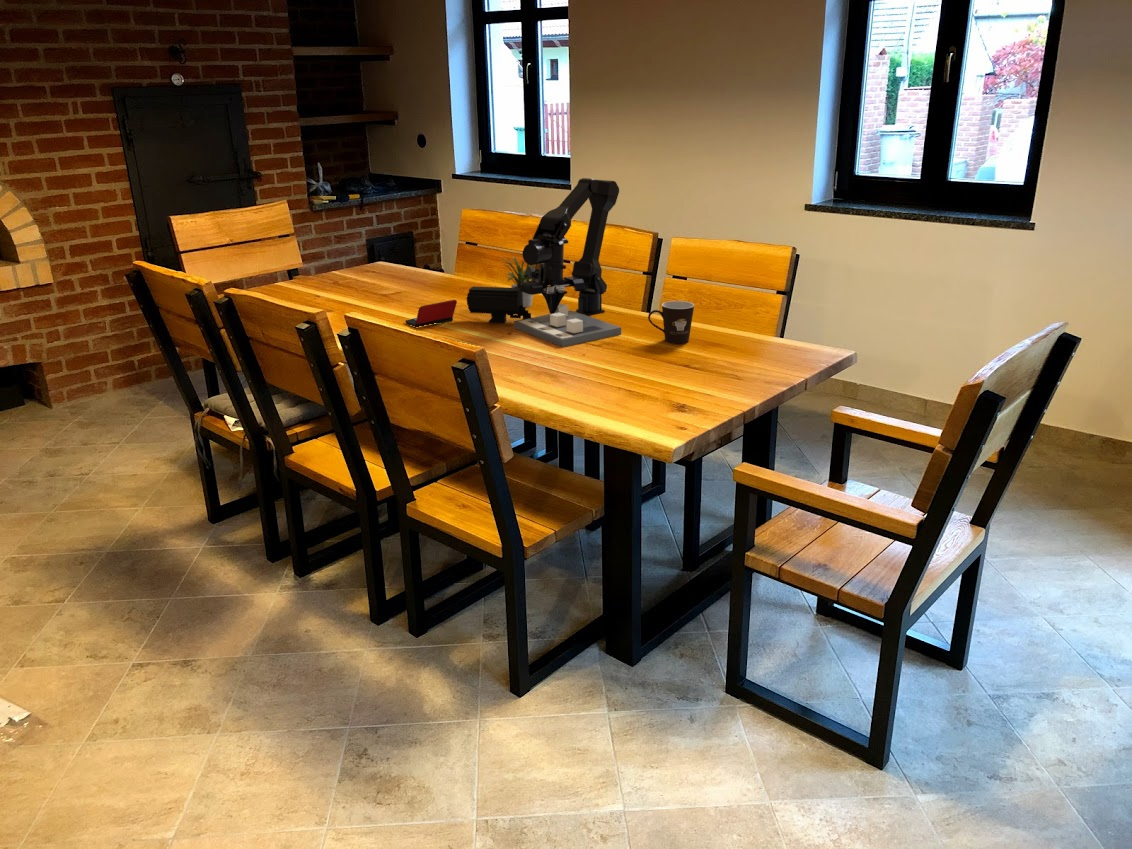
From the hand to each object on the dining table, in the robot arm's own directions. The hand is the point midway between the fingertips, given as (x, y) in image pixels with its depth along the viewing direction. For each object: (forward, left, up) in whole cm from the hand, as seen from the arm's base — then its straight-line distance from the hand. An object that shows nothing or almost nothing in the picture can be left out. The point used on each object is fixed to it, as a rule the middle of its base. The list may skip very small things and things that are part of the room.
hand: (551, 314), depth 261 cm
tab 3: (+3, +16, -1) cm, 16 cm away
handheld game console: (+27, -23, -3) cm, 36 cm away
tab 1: (-3, 0, -1) cm, 3 cm away
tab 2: (+3, +8, -1) cm, 9 cm away
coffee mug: (-17, +33, -3) cm, 37 cm away
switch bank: (0, +8, -3) cm, 8 cm away
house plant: (-5, -25, -3) cm, 26 cm away
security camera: (+10, -12, -3) cm, 16 cm away
